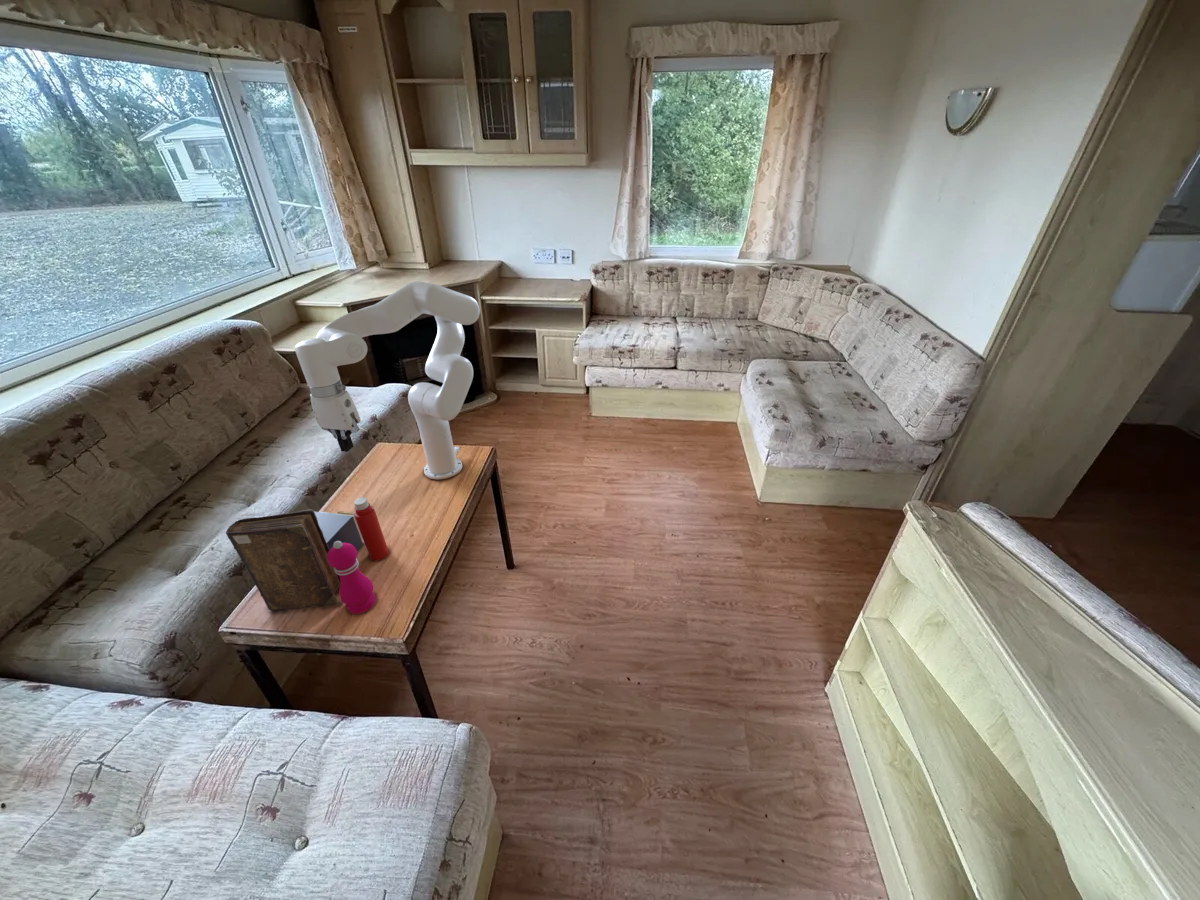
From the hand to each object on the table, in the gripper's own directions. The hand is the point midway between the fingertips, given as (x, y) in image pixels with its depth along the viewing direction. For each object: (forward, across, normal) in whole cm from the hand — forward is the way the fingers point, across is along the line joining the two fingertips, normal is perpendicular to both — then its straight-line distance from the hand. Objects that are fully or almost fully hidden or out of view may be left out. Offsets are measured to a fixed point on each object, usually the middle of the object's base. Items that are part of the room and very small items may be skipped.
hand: (347, 449), depth 132 cm
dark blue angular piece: (+23, 0, +20) cm, 30 cm away
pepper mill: (+23, -18, +31) cm, 43 cm away
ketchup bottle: (+23, -12, +15) cm, 30 cm away
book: (+23, -4, +32) cm, 40 cm away
